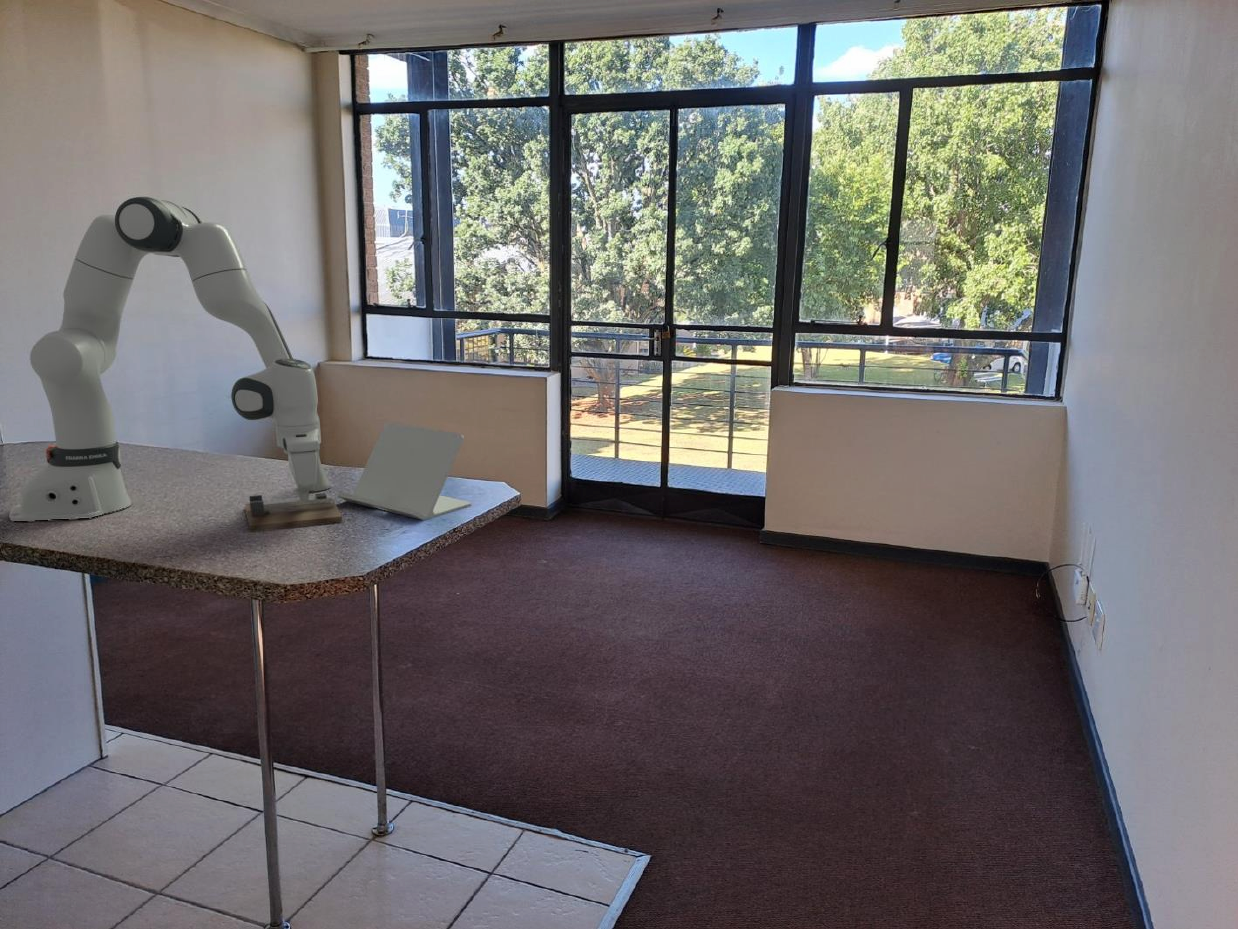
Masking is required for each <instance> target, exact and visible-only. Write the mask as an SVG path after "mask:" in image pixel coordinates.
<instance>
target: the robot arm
mask: <svg viewBox="0 0 1238 929" xmlns="http://www.w3.org/2000/svg"><path fill="white" fill-rule="evenodd" d="M88 226H89V227H88V228H87V229H86V232H85V233H84V235H83V237H82V239H81V241H80V244H79V246H78V248H77V251H76V254H75V257H74V260H73V263H72V264H71V268H70V272H69V274H68V277H67V280H66V283H65V287H64V289H63V294H62V295H63V301H64V302H63V303H64V304H63V314H62V322H61V325H60V327H59V329H58V330H56V331H55V330H54V331H51V332H48V333H46V334H44V335H43V336H42V337H40V338H39V339H38V340H37V341H36V343H35V344H34V345H33V346H32V349H30V350H31V351H30V353H29V354H30V355H29V360H30V366H31V367H32V369H33V371H34V373H36V375H37V376H38V377H39V379H40V382H41V385H42V388H43V389H44V392H45V395H46V397H47V401H48V404H49V407H50V411H51V414H52V422H53V424H52V425H53V429H54V437H55V443H56V445H54V444H52V445H51V444H50V445H49V446H48V447H47V448H46V450H45V452H46V453H45V456H46V461H47V465H46V466H45V467H44V468H43V469H41V470H40V471H38V473H36V474H34V476H32V477H31V478H29V480H27V481H26V483H25V484H24V485H23V487H22V489H21V491H20V492H21V493H20V497H19V498H20V499H19V500H20V501H19V502H20V504H18V505H16V506H14V507H12V508H11V509H10V511H9V513H8V514H9V515H8V518H10V519H9V520H10V521H11V522H14V521H28V522H36V521H35V520H48V519H61V518H75V517H93V516H97V515H101V516H102V514H103V513H106V514H109V513H108V512H110V513H112V512H111V511H114V512H117V511H116V510H118V511H120V510H119V509H121V510H123V509H122V508H124V509H126V508H128V507H130V506H131V505H132V504H133V502H132V500H131V498H130V496H129V494H128V491H127V488H126V486H125V485H126V484H125V481H124V478H123V475H122V471H121V466H122V458H121V457H122V454H121V447H120V444H119V442H118V441H117V438H116V429H115V420H114V413H113V406H112V404H111V403H110V402H109V400H108V398H107V394H106V392H105V390H104V389H105V388H104V386H103V383H102V380H101V374H103V373H105V372H106V371H107V370H108V369H109V368H110V367H111V366H112V365H113V363H114V362H115V358H116V355H117V345H118V339H119V335H120V334H119V333H120V329H121V328H120V327H121V321H122V316H123V312H124V309H125V306H126V303H127V300H128V298H129V294H130V291H131V288H132V287H133V286H132V285H133V283H134V280H135V276H136V273H137V270H138V267H139V264H140V263H141V260H142V259H143V258H144V257H145V256H146V255H148V254H153V255H155V256H167V257H173V258H181V260H182V261H183V263H184V264H185V266H186V269H187V271H188V275H189V278H190V280H191V283H192V287H193V289H194V293H195V295H196V297H197V300H198V302H199V303H200V305H201V307H202V308H203V309H204V311H205V312H207V313H208V314H209V315H211V316H212V317H213V318H216V319H218V320H220V321H224V322H226V323H229V324H232V325H234V326H235V327H238V328H239V329H241V330H243V331H244V332H246V333H247V334H248V336H250V338H251V340H252V341H253V342H254V345H255V347H256V349H257V351H258V353H259V356H260V358H261V360H262V363H263V364H264V366H265V369H262V370H261V371H258V372H256V373H253V374H249V375H246V376H243V377H242V378H239V379H238V380H236V382H235V383H234V384H233V386H232V389H231V394H230V397H231V398H230V399H231V402H232V405H233V408H234V410H235V411H236V412H237V414H238V415H239V416H240V417H242V418H243V419H245V420H248V421H263V420H266V419H273V420H274V422H275V423H274V425H275V432H276V433H275V434H276V444H277V447H279V448H281V449H283V452H284V454H286V455H287V457H288V458H287V461H288V467H289V471H290V473H291V475H292V478H293V479H294V482H295V484H296V486H297V491H298V492H297V493H298V498H300V500H301V501H307V500H309V497H310V494H309V493H310V491H309V488H312V487H315V486H316V481H317V451H316V450H319V449H320V450H321V448H320V447H321V446H320V445H321V443H322V435H321V434H322V433H321V422H320V417H319V415H318V410H317V408H318V404H319V397H318V389H317V388H318V387H317V385H318V384H317V380H316V376H315V373H314V370H313V367H312V366H311V365H310V364H309V363H308V362H306V361H304V360H301V359H296V358H294V357H293V355H292V353H291V351H290V348H289V346H288V344H287V341H286V340H285V338H284V335H283V333H282V330H281V329H280V327H279V324H278V323H277V321H276V318H275V315H274V314H273V312H272V310H271V309H270V307H269V306H268V305H267V304H266V303H265V302H264V301H263V299H262V298H261V297H260V295H259V293H258V292H257V290H256V288H255V285H254V284H253V282H252V279H251V277H250V275H249V272H248V268H247V266H246V264H245V260H244V258H243V255H242V253H241V252H240V248H239V247H238V244H237V243H236V241H235V239H234V237H233V236H232V233H231V232H230V231H229V229H228V228H227V227H226V226H224V225H222V224H220V223H216V222H203V221H202V220H201V219H200V218H199V217H198V215H197V214H195V213H194V212H193V211H191V210H190V209H188V208H186V207H183V206H181V205H179V204H176V203H174V202H173V201H172V202H171V201H169V200H164V199H162V200H161V199H156V198H152V197H149V196H136V197H132V198H128V199H127V200H126V199H125V201H123V202H122V203H121V204H120V205H119V207H118V208H117V210H116V212H115V214H102V215H99V216H96V217H95V218H94V219H93V220H92V222H91V223H90V225H88ZM320 450H319V451H320ZM103 515H104V514H103ZM48 521H49V520H48Z"/></svg>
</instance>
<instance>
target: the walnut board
mask: <svg viewBox="0 0 1238 929" xmlns="http://www.w3.org/2000/svg"><path fill="white" fill-rule="evenodd" d="M331 499H332V502H333V507H332V508H322V509H311V510H301V511H291V512H281V513H271V514H269V509H264V516H262V517H252V512H251V509H250V502H249V503H245V504H244V505H245V513H246V518H247V523H248V528H249V532H256V531H257V532H258V531H266V530H277V528H279V529H287V528H297V526H298V527H305V525H307V526H313V525H312V524H317V525H323V524H322V523H326V524H333V523H332V522H336V523H342V522H343V516H342V514H341V512H340V510H339V509H338V507H337V504H336V503H335V501H334V499H333V498H332V496H331Z"/></svg>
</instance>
